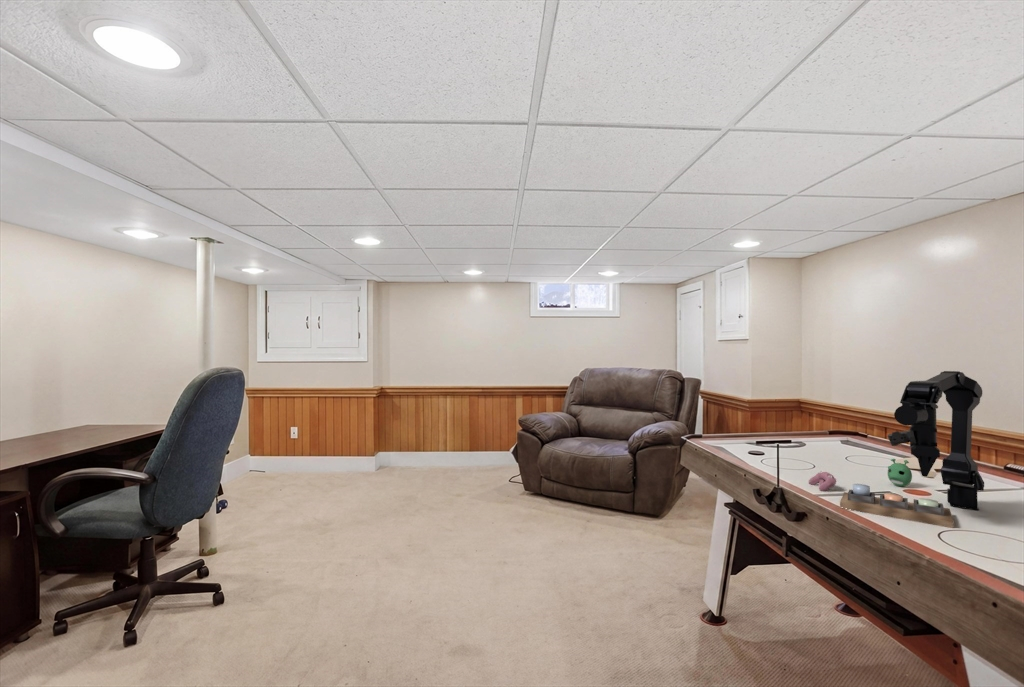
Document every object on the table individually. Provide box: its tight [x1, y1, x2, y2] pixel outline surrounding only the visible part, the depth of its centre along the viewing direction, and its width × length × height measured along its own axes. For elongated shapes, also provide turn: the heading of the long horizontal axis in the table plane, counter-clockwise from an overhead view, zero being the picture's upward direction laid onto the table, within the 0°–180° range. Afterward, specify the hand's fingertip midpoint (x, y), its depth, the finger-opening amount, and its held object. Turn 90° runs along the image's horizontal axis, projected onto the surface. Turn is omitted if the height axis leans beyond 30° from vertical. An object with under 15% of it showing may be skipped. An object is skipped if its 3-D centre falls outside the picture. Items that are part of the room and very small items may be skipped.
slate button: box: [852, 483, 871, 497], centre depth 150 cm, size 4×4×3 cm
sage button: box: [917, 497, 939, 507], centre depth 139 cm, size 4×4×3 cm
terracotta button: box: [883, 492, 904, 502], centre depth 145 cm, size 4×4×3 cm
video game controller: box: [808, 471, 837, 492], centre depth 170 cm, size 10×5×7 cm, turn 170°
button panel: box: [839, 489, 954, 529], centre depth 145 cm, size 26×14×4 cm, turn 50°
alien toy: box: [887, 458, 913, 487], centre depth 174 cm, size 7×8×10 cm
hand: (924, 476), depth 140 cm, fingers closed
